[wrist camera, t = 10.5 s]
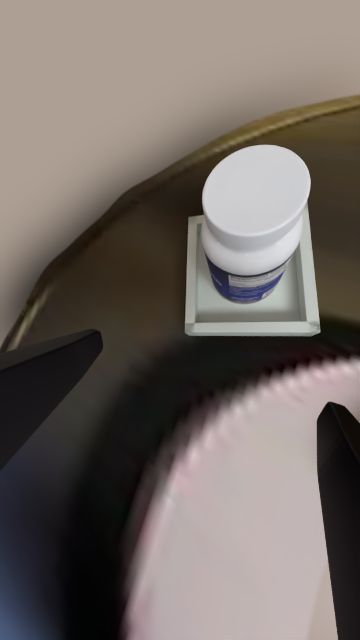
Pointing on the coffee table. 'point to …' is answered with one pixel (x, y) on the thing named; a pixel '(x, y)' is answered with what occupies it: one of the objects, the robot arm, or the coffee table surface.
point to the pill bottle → (253, 220)
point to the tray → (259, 318)
